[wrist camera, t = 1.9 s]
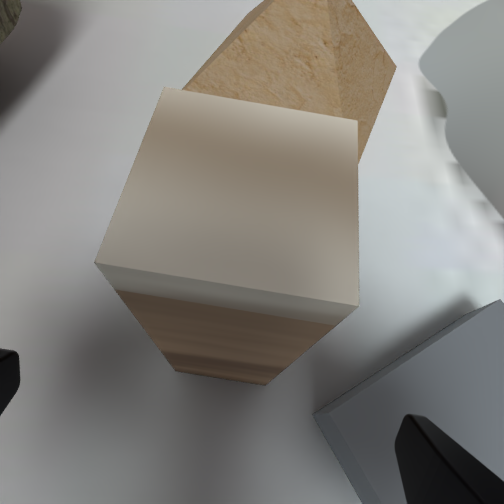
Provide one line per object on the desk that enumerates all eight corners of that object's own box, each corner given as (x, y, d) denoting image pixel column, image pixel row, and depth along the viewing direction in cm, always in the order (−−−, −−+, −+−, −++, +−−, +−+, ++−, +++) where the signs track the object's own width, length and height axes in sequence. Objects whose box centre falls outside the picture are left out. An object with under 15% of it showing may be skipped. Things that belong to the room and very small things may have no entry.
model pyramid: (158, 117, 28) (130, -27, 19) (246, 15, 36) (256, -120, 27) (349, 195, 26) (417, 76, 17) (397, 70, 34) (462, -57, 25)
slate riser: (630, 516, 17) (704, 531, 15) (472, 697, 14) (532, 761, 11) (465, 314, 22) (500, 299, 19) (312, 414, 18) (328, 412, 16)
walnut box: (265, 385, 19) (359, 306, 6) (175, 371, 19) (94, 262, 6) (274, 300, 21) (357, 120, 9) (195, 287, 21) (163, 86, 9)
